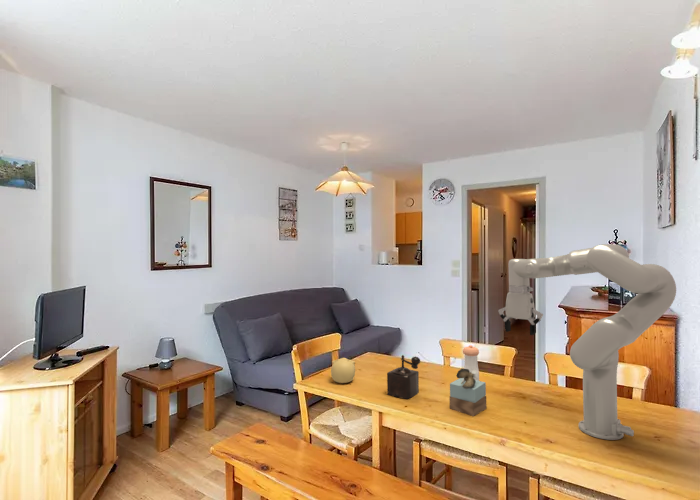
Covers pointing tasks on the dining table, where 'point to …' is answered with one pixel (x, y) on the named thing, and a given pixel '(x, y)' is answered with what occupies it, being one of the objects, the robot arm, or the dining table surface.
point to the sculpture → (343, 370)
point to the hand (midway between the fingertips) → (520, 332)
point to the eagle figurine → (467, 377)
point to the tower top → (467, 391)
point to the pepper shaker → (471, 359)
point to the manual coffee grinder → (404, 380)
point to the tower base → (468, 406)
